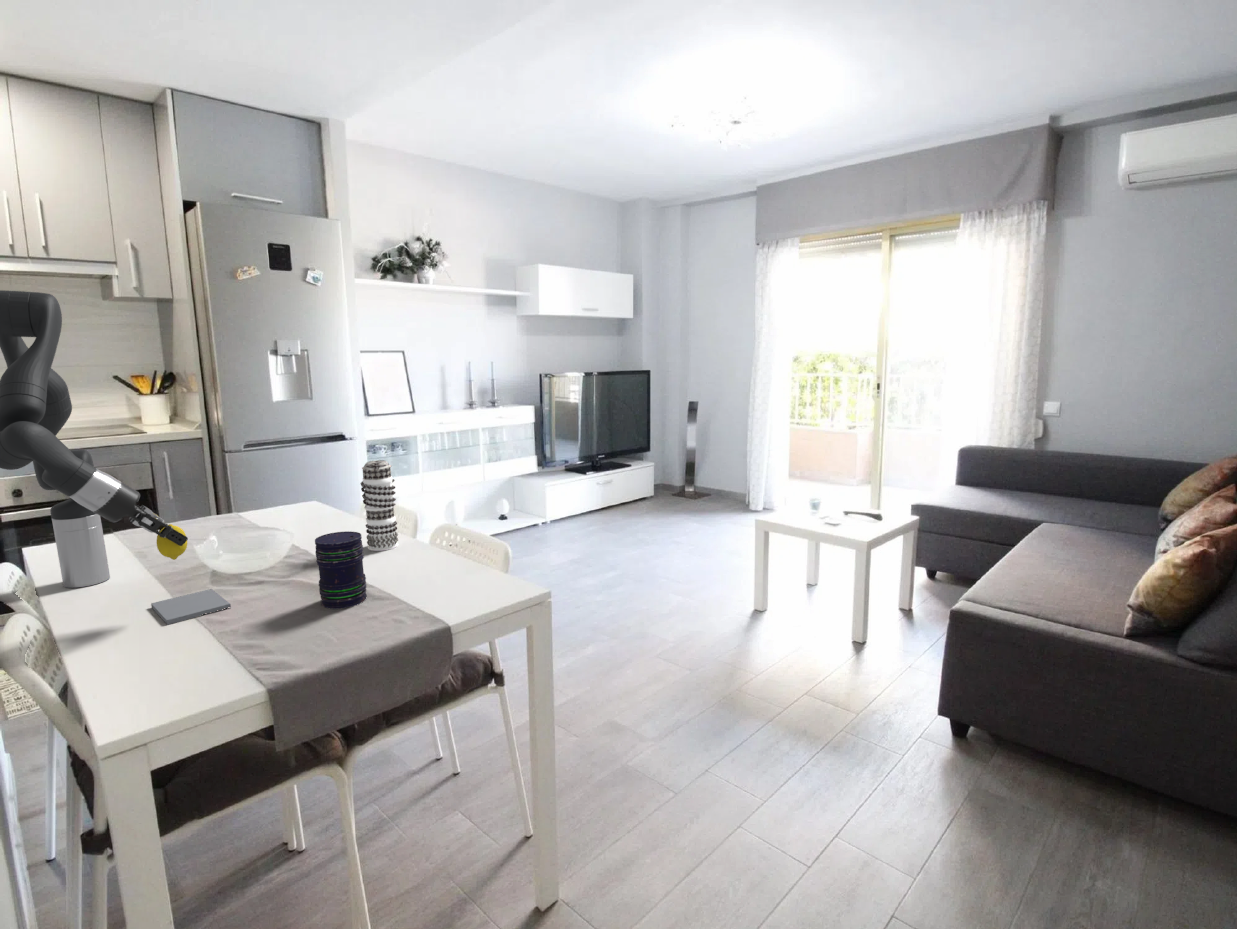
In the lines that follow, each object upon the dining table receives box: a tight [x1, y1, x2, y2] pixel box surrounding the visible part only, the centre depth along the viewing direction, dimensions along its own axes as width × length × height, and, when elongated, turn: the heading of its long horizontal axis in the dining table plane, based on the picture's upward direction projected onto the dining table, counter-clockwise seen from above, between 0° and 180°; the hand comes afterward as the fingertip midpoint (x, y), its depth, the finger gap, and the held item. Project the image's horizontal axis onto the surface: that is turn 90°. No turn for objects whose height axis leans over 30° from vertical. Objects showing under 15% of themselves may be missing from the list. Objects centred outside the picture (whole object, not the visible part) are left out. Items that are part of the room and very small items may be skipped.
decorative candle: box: [359, 459, 399, 552], centre depth 188 cm, size 9×9×25 cm
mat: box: [150, 588, 232, 626], centre depth 147 cm, size 14×12×1 cm
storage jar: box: [314, 530, 368, 610], centre depth 148 cm, size 10×10×15 cm
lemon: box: [156, 523, 188, 560], centre depth 143 cm, size 6×6×8 cm
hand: (180, 539), depth 144 cm, fingers closed on lemon, 5 cm apart
